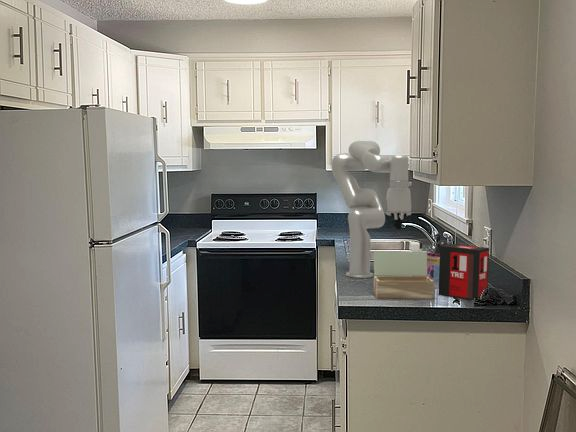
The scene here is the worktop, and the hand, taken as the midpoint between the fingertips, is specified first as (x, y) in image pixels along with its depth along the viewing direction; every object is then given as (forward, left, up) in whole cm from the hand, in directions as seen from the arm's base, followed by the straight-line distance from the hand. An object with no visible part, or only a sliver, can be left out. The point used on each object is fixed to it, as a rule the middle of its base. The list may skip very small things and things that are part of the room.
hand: (398, 229), depth 253 cm
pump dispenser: (-40, +30, -26) cm, 56 cm away
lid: (+8, 0, -13) cm, 15 cm away
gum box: (-4, +19, -26) cm, 32 cm away
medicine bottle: (-57, +21, -26) cm, 66 cm away
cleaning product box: (+14, +24, -26) cm, 38 cm away
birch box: (+14, 0, -25) cm, 29 cm away
